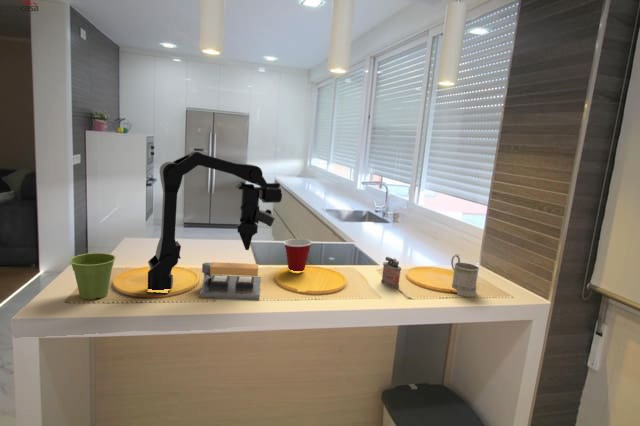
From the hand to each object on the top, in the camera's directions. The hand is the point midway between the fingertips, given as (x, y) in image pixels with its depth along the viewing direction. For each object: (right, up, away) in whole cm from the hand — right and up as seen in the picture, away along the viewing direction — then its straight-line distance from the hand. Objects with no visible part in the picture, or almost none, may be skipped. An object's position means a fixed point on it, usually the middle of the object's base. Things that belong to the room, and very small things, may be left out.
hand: (247, 248), depth 141 cm
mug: (+76, -17, +13) cm, 79 cm away
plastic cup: (+15, -11, +18) cm, 26 cm away
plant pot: (-42, -12, -20) cm, 48 cm away
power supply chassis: (-4, -13, -5) cm, 14 cm away
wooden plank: (-5, -7, -6) cm, 11 cm away
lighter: (+50, -15, +11) cm, 53 cm away
